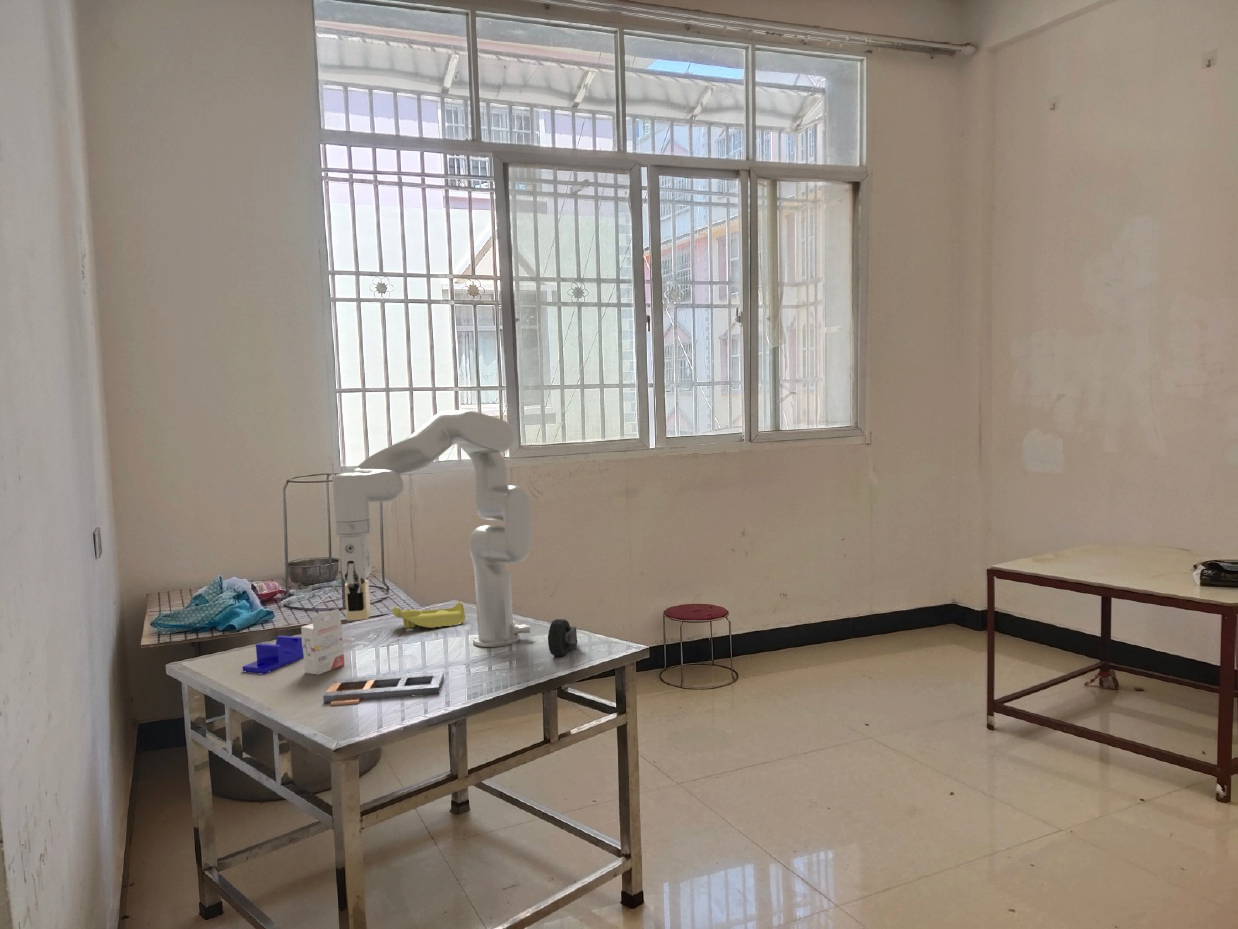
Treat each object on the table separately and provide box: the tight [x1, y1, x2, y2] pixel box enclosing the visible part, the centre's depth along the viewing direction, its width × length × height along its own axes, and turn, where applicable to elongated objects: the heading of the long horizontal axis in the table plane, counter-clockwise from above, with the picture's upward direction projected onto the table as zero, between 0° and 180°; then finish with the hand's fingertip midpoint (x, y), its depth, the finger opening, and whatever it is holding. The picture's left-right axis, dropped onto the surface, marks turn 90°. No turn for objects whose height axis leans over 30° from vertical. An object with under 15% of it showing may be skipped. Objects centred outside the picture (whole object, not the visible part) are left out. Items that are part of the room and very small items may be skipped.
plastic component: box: [391, 601, 466, 629], centre depth 247 cm, size 20×7×10 cm
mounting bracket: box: [242, 635, 304, 675], centre depth 217 cm, size 18×7×6 cm, turn 159°
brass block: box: [344, 579, 372, 622], centre depth 189 cm, size 4×4×8 cm
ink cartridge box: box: [300, 608, 345, 676], centre depth 209 cm, size 9×5×15 cm, turn 148°
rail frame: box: [322, 671, 445, 706], centre depth 190 cm, size 25×13×2 cm, turn 96°
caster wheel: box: [547, 618, 578, 657], centre depth 215 cm, size 6×10×15 cm
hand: (358, 607), depth 189 cm, fingers closed on brass block, 4 cm apart
